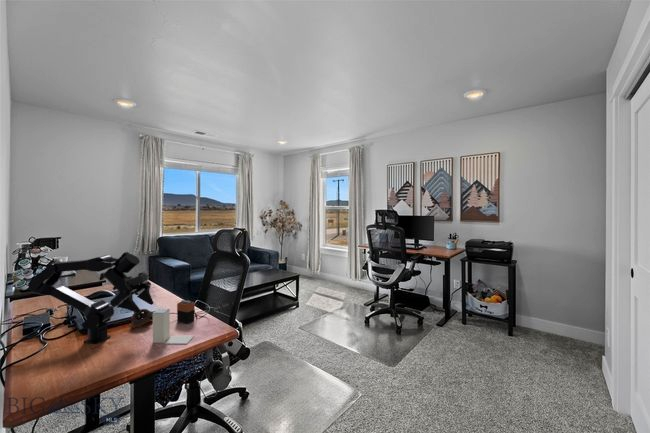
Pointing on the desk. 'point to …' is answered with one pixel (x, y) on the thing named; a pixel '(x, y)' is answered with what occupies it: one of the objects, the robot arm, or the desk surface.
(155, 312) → the cream block
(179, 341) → the felt mat
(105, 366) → the desk surface
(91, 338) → the robot arm
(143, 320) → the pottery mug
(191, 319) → the battery
